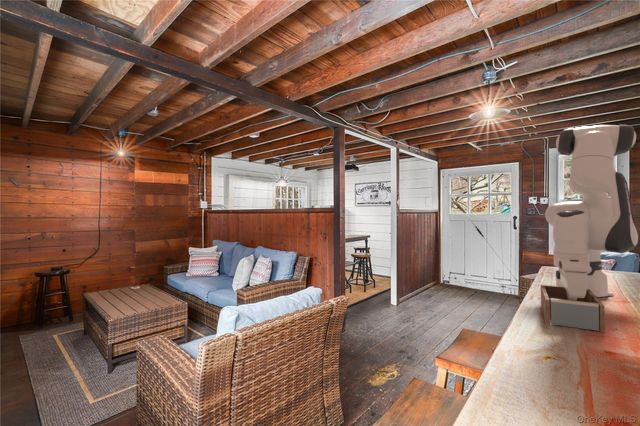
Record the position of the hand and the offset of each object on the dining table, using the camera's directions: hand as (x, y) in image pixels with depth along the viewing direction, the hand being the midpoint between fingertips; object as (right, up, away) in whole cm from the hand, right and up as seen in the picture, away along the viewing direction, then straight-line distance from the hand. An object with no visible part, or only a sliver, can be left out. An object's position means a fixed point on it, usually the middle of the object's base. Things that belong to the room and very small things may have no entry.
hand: (572, 304), depth 97 cm
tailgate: (-2, -6, -3) cm, 7 cm away
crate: (+3, -6, +5) cm, 9 cm away
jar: (+16, -6, +20) cm, 26 cm away
